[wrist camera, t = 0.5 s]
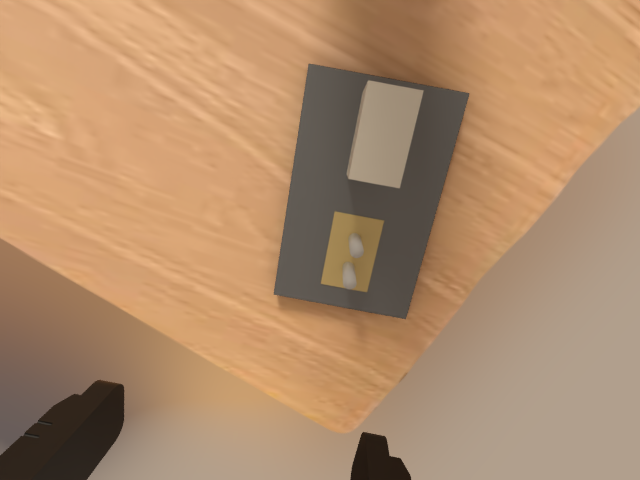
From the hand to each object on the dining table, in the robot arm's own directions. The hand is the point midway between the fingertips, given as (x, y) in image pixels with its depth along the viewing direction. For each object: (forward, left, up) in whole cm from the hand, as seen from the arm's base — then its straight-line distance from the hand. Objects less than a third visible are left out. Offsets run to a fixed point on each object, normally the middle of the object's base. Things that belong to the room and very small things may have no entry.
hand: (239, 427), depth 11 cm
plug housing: (-11, +5, -22) cm, 25 cm away
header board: (-5, +5, -24) cm, 25 cm away
